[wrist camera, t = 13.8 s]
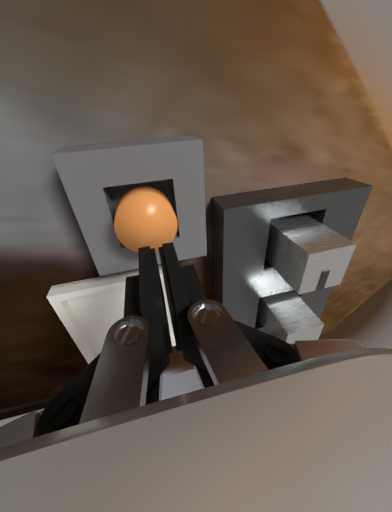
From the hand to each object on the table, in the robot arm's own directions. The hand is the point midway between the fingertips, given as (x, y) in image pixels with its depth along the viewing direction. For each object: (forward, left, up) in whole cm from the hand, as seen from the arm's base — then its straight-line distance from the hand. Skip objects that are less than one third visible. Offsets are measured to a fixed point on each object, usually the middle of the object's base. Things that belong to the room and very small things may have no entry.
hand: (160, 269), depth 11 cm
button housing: (0, 0, -9) cm, 9 cm away
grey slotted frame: (+9, +13, -9) cm, 18 cm away
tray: (+12, -4, -9) cm, 16 cm away
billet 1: (+5, +12, -9) cm, 16 cm away
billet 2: (+14, +13, -9) cm, 21 cm away
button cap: (0, 0, -7) cm, 7 cm away
